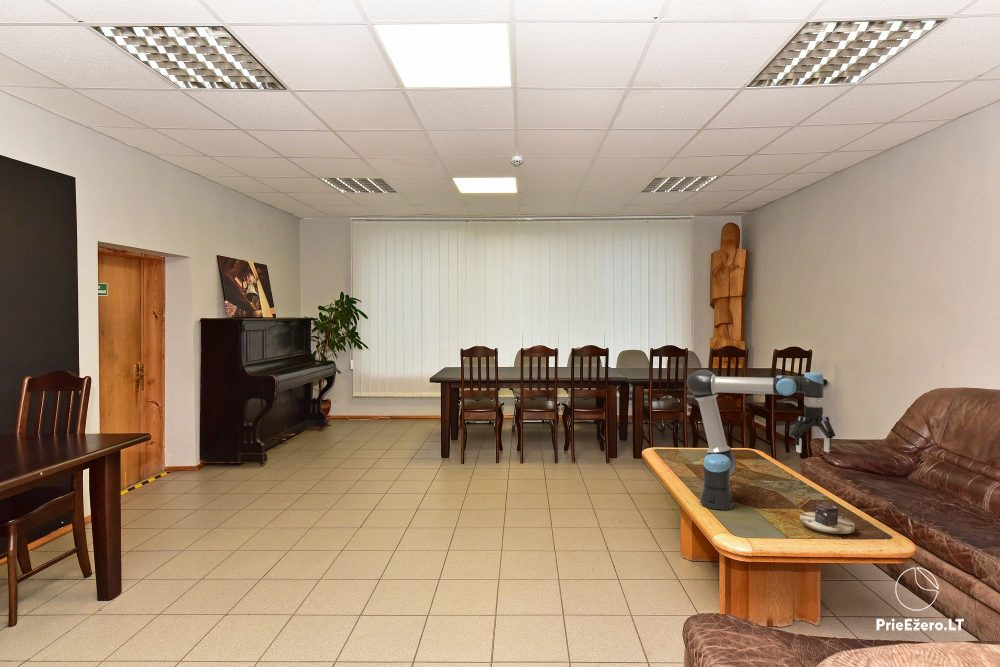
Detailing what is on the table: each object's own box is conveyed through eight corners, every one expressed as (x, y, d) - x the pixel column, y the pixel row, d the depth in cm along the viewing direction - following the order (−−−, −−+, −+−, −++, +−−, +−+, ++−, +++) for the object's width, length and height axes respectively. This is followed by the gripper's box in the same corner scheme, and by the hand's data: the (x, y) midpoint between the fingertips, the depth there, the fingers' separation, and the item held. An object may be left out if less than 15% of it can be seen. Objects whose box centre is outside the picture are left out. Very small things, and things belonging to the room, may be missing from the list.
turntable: (848, 537, 218) (848, 521, 218) (793, 524, 232) (793, 509, 232) (859, 524, 232) (859, 509, 232) (807, 513, 246) (807, 498, 246)
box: (814, 521, 230) (814, 504, 230) (825, 519, 231) (826, 502, 231) (826, 526, 224) (827, 508, 224) (838, 525, 225) (838, 507, 225)
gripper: (792, 407, 245) (792, 454, 246) (844, 407, 247) (843, 453, 248) (782, 405, 253) (782, 450, 253) (833, 404, 255) (832, 449, 255)
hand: (812, 452), depth 250 cm, fingers open, 13 cm apart
